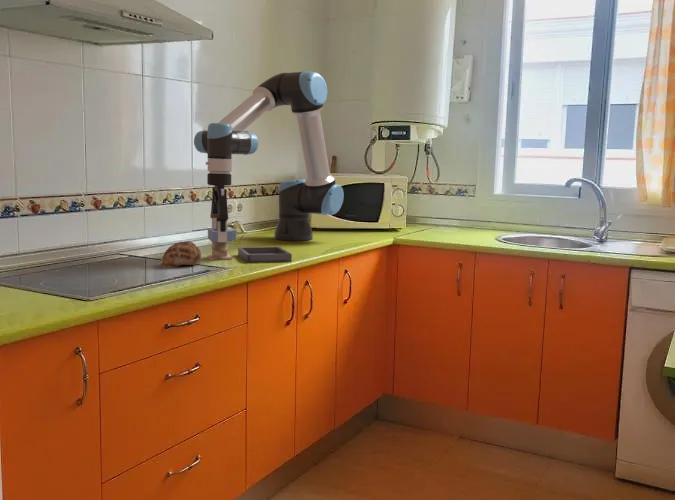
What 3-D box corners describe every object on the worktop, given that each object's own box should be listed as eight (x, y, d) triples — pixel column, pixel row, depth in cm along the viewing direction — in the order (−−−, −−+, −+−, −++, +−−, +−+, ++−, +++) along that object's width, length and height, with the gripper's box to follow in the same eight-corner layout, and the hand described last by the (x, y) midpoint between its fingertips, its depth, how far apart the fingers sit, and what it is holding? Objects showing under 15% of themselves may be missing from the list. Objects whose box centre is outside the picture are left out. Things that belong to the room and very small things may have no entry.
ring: (207, 238, 235) (207, 228, 235) (231, 237, 238) (231, 228, 237) (211, 241, 226) (211, 231, 226) (236, 241, 229) (236, 231, 228)
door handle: (228, 256, 237) (228, 213, 235) (232, 259, 230) (232, 215, 228) (207, 257, 235) (207, 213, 233) (210, 260, 228) (210, 215, 226)
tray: (279, 254, 244) (279, 246, 244) (291, 261, 228) (291, 253, 228) (238, 255, 240) (238, 247, 240) (247, 263, 224) (247, 255, 224)
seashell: (182, 258, 225) (193, 232, 221) (199, 276, 221) (210, 250, 217) (154, 262, 217) (165, 235, 213) (171, 280, 213) (183, 254, 209)
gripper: (202, 171, 239) (202, 235, 242) (213, 173, 216) (212, 244, 219) (225, 171, 242) (224, 235, 244) (238, 174, 218) (237, 244, 221)
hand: (219, 239), depth 231 cm, fingers open, 13 cm apart
